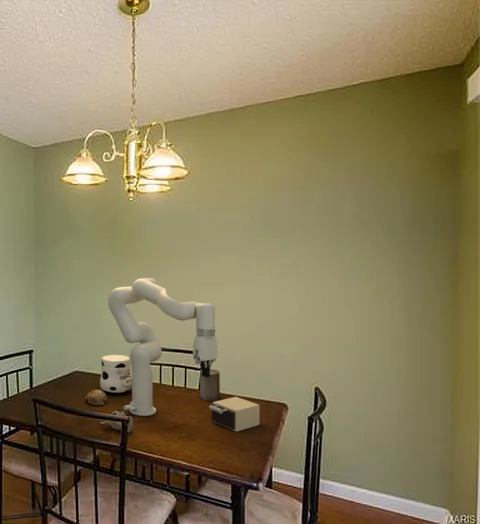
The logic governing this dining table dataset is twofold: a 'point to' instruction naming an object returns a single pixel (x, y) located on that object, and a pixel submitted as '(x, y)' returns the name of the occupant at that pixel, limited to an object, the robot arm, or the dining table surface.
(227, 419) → the drawer
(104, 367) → the milk container
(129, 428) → the ceramic sculpture
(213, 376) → the pillar candle
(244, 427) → the cabinet
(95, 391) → the bread roll
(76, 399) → the dining table surface
